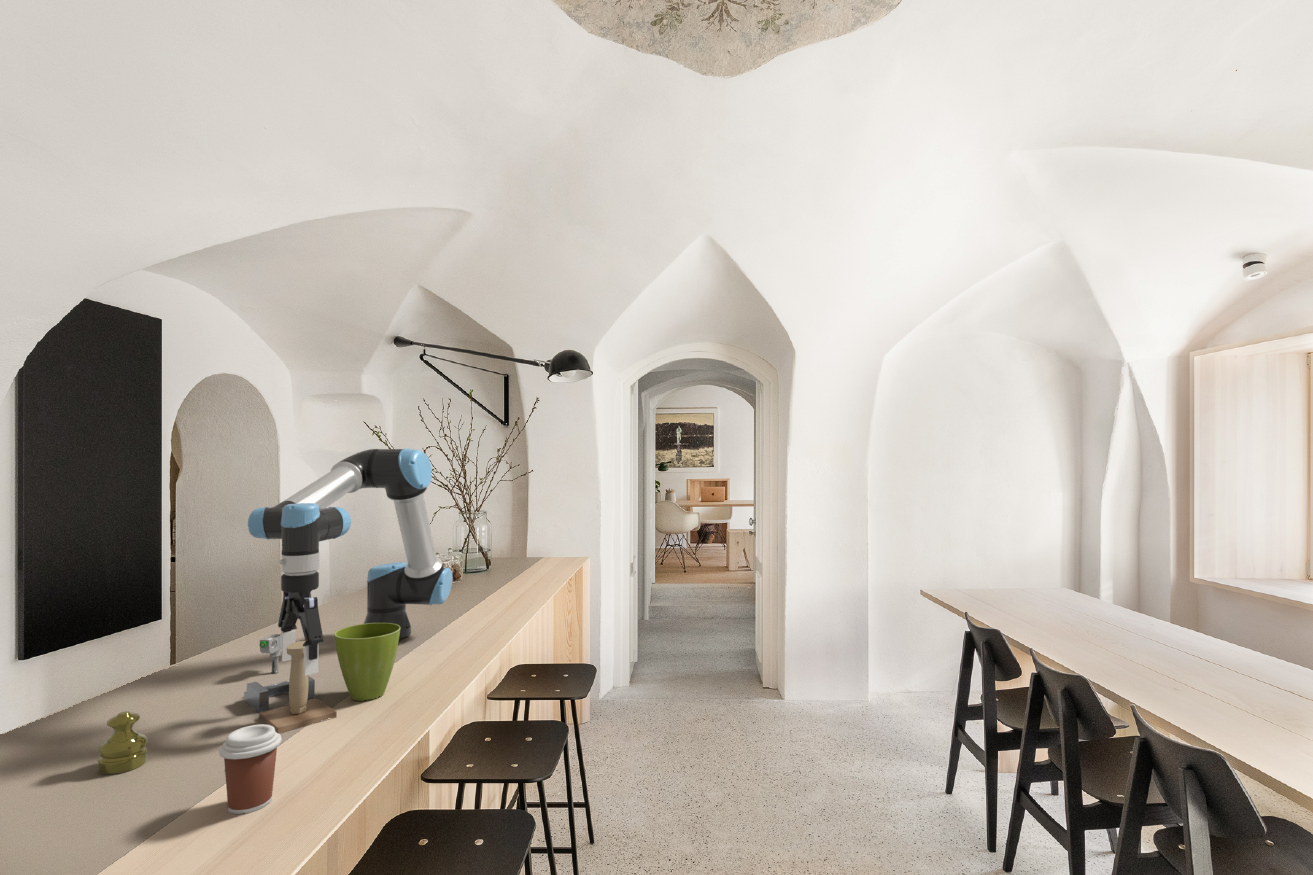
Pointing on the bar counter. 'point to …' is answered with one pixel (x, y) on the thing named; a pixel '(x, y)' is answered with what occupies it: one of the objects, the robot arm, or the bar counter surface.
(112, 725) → the olive glossy bulbous piece
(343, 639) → the flower pot
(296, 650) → the handle
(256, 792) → the coffee cup
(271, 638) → the mechanical component
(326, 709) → the walnut board
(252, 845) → the bar counter surface
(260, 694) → the vise
